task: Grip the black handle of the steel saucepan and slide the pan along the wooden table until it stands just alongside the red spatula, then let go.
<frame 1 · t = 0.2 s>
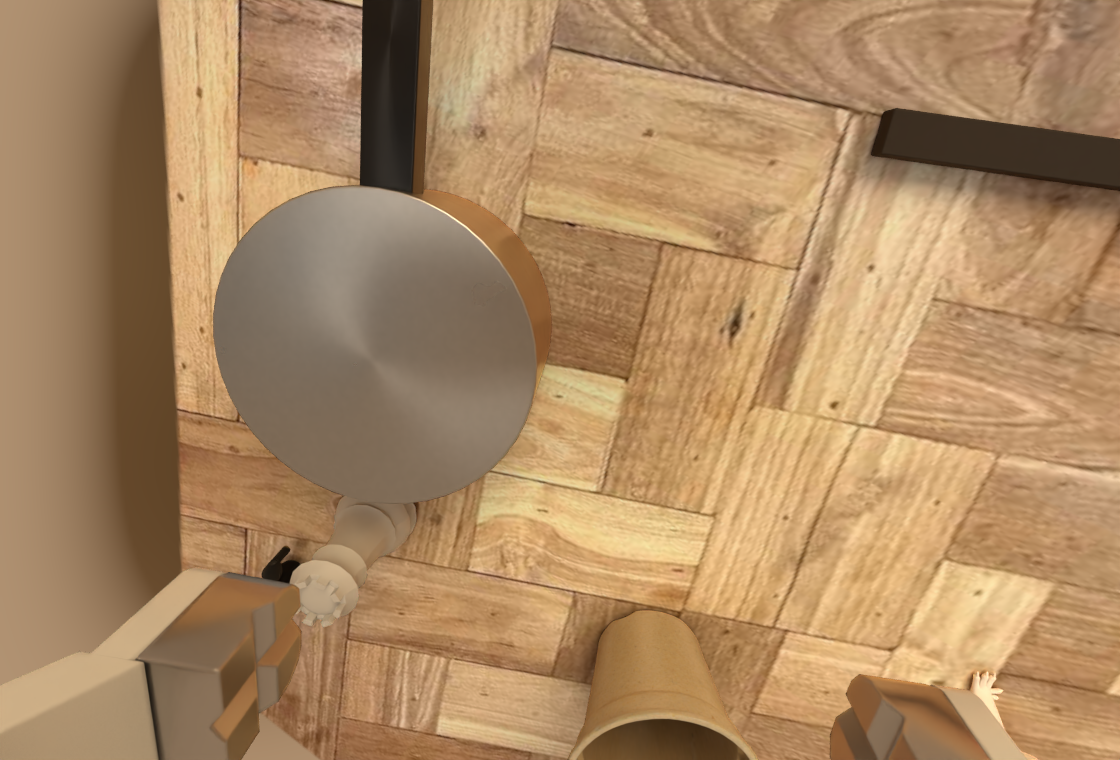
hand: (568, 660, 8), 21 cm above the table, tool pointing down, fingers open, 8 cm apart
rook chess piece: (383, 505, 32), on the table
wireless earbuds: (302, 575, 34), on the table
saucepan: (426, 322, 28), on the table
spatula: (1094, 164, 24), on the table
flower pot: (647, 644, 34), on the table
rabbit figurine: (976, 747, 35), on the table
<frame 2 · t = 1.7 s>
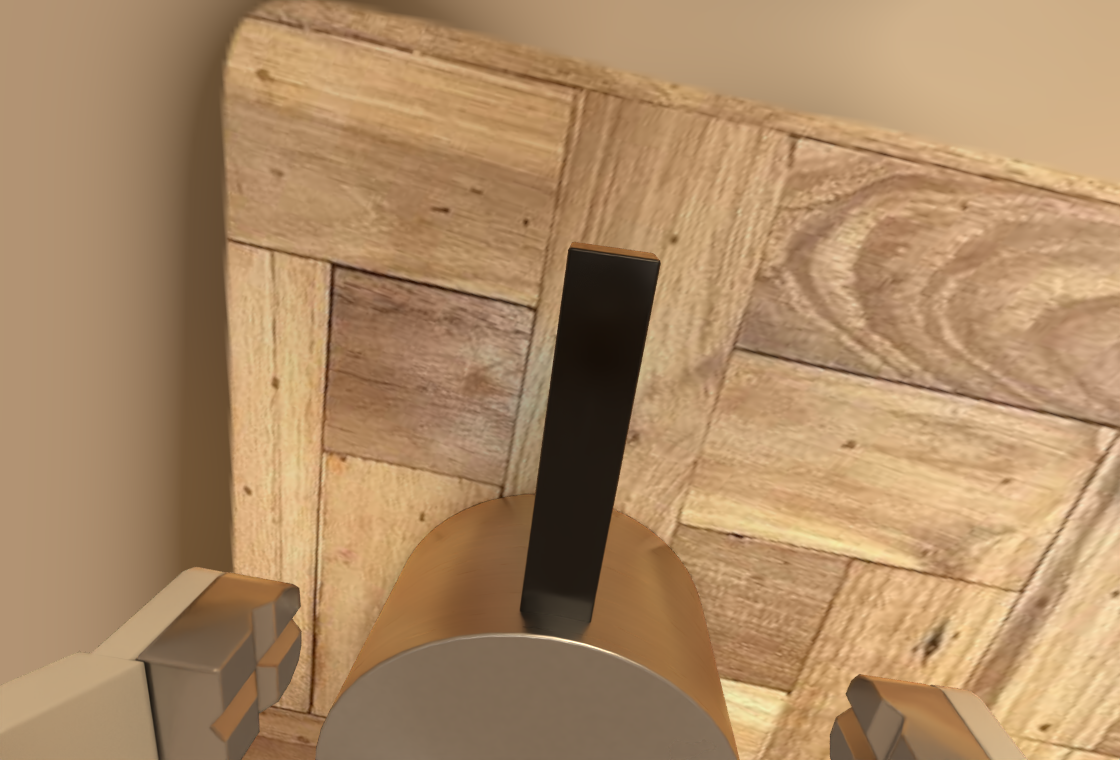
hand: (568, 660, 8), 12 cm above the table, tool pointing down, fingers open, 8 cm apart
saucepan: (546, 627, 23), on the table
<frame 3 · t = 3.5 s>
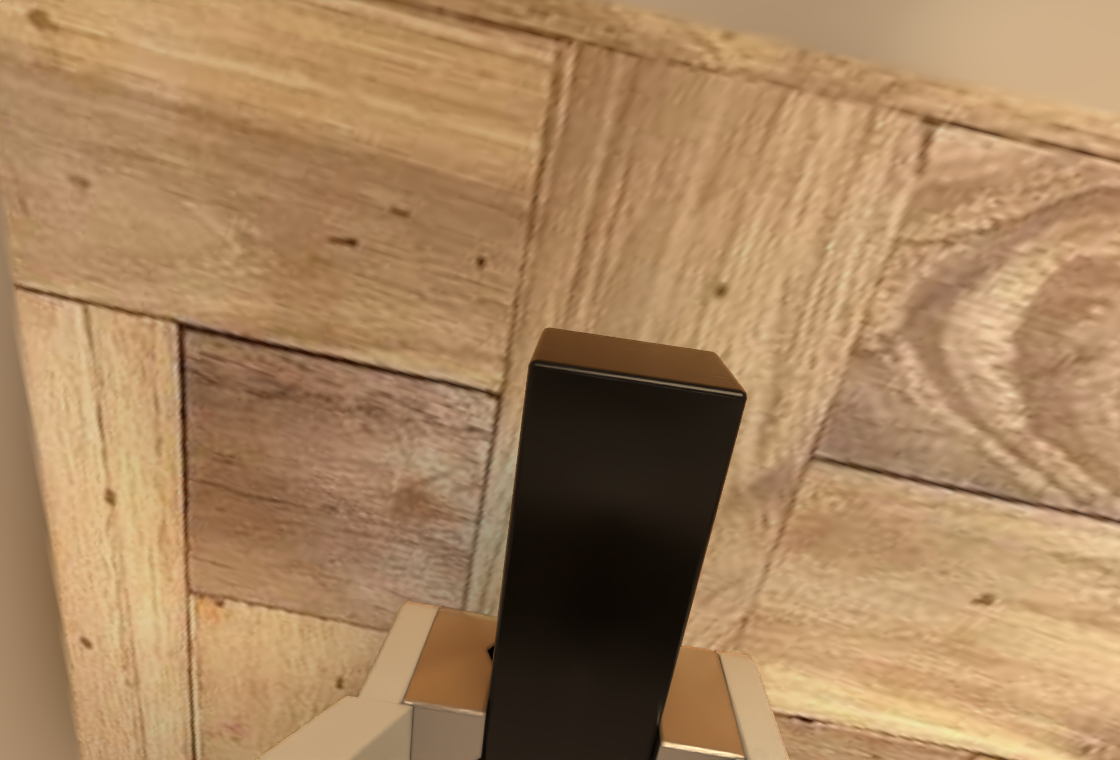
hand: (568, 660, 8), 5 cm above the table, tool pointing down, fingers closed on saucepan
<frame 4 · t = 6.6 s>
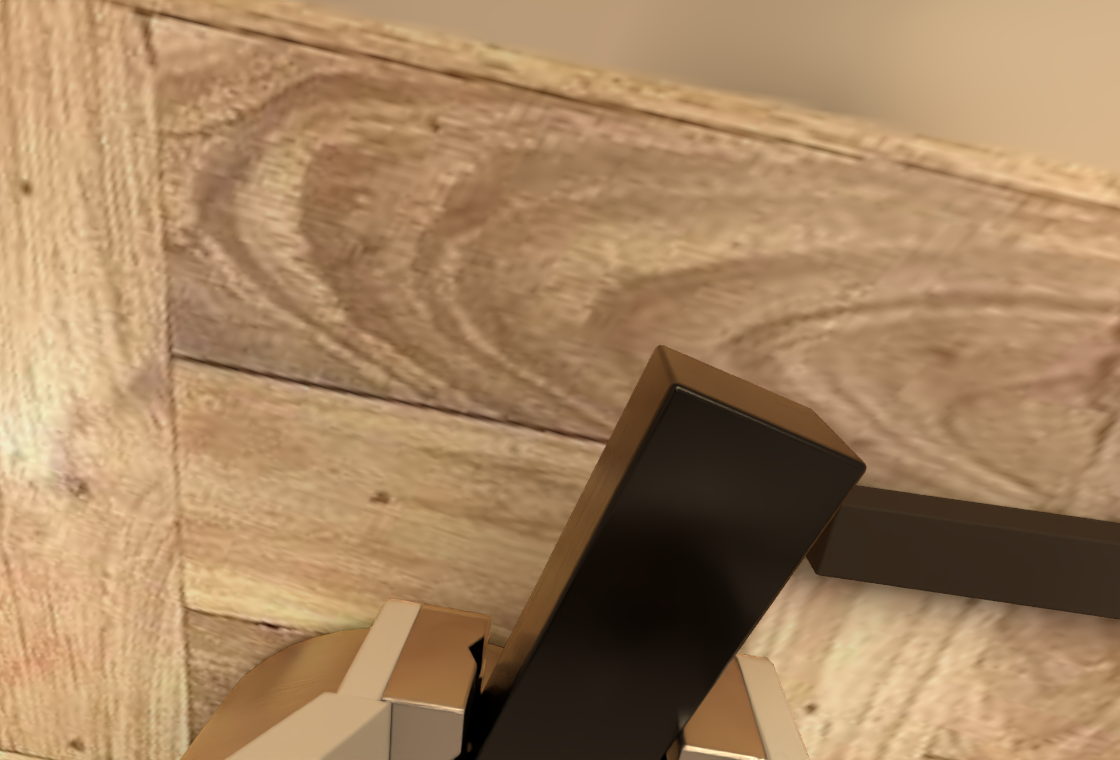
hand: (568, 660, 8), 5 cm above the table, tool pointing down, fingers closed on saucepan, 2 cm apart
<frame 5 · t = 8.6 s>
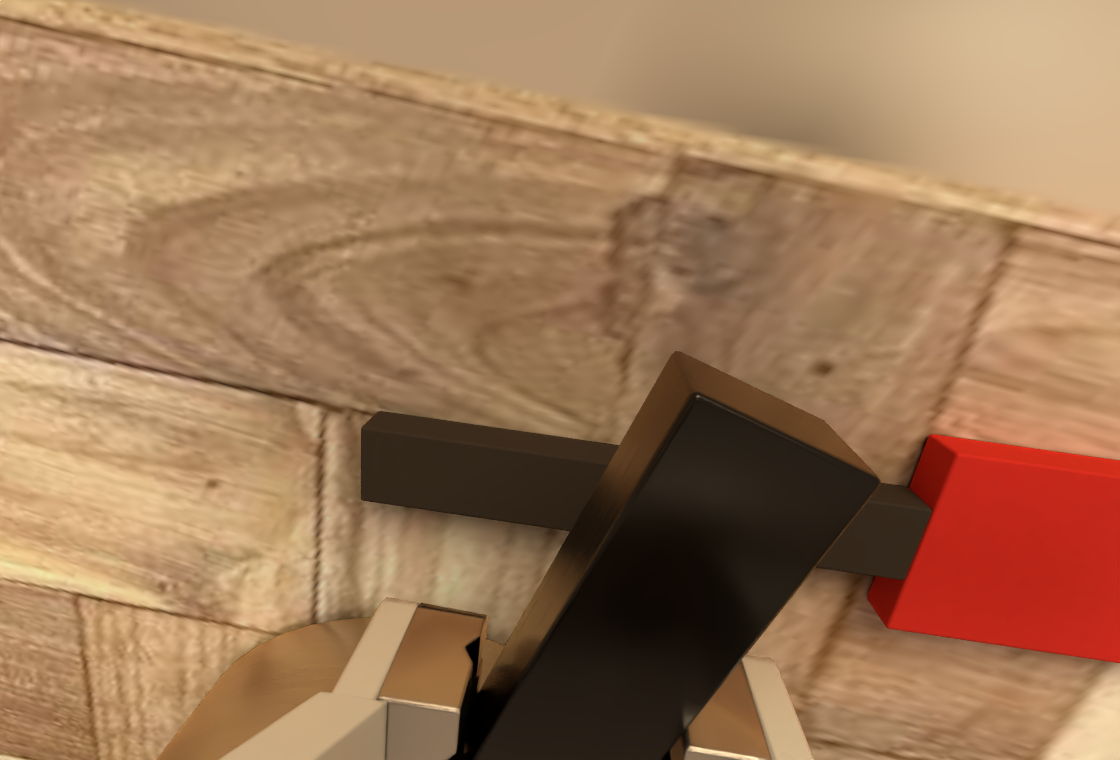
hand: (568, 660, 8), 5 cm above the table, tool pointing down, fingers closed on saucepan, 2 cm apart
spatula: (785, 504, 12), on the table
when the fingers open (5 cm above the table, at t = 9.7 s): saucepan stays where it is, on the table.
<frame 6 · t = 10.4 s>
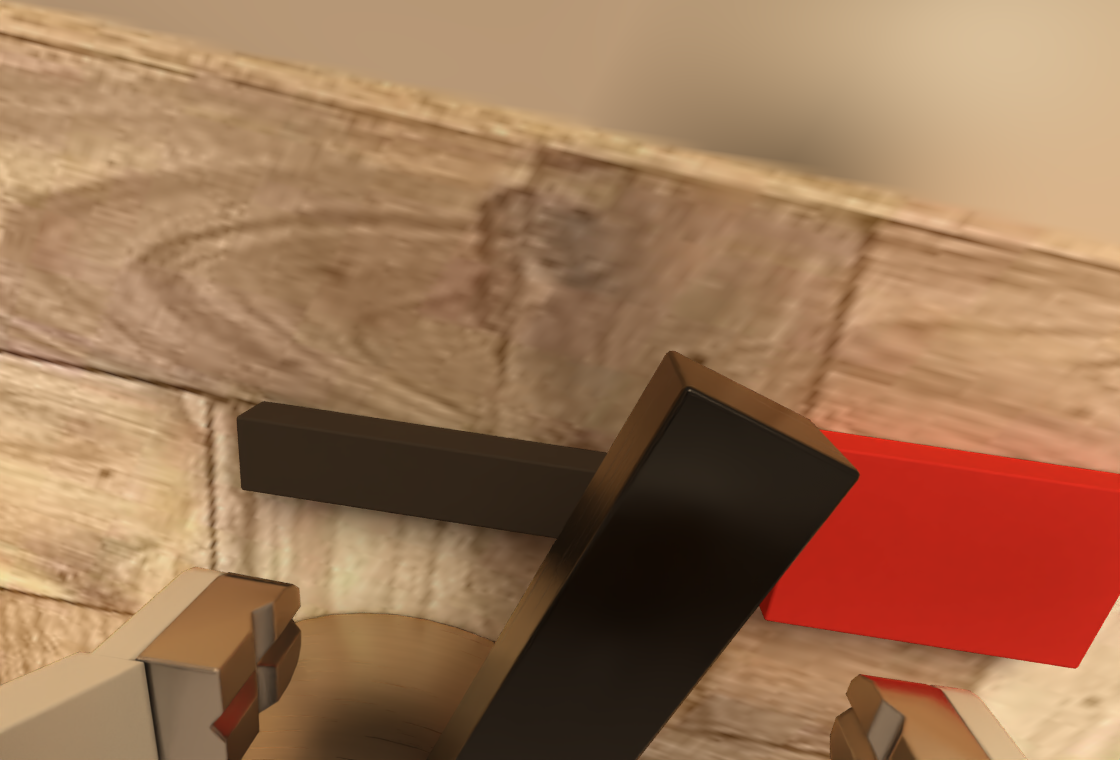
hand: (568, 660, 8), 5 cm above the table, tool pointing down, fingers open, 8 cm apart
spatula: (667, 496, 12), on the table
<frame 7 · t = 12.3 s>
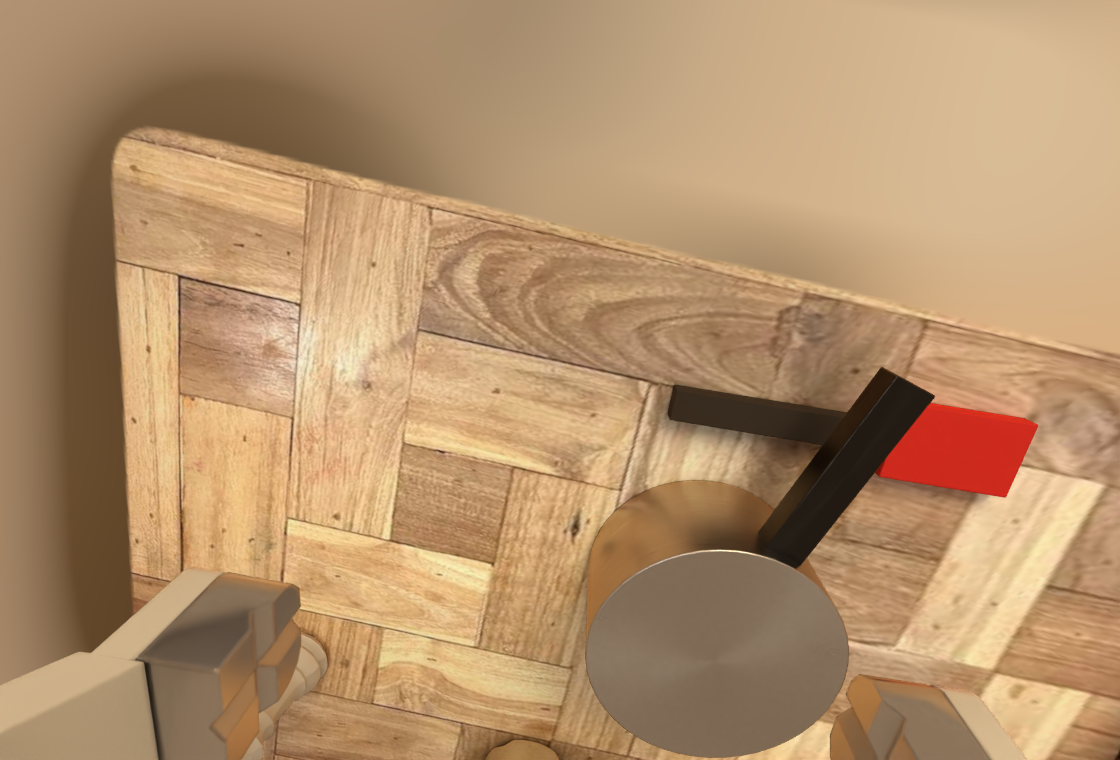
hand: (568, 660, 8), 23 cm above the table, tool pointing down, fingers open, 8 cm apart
rook chess piece: (301, 650, 38), on the table
saucepan: (692, 573, 34), on the table
spatula: (838, 426, 30), on the table
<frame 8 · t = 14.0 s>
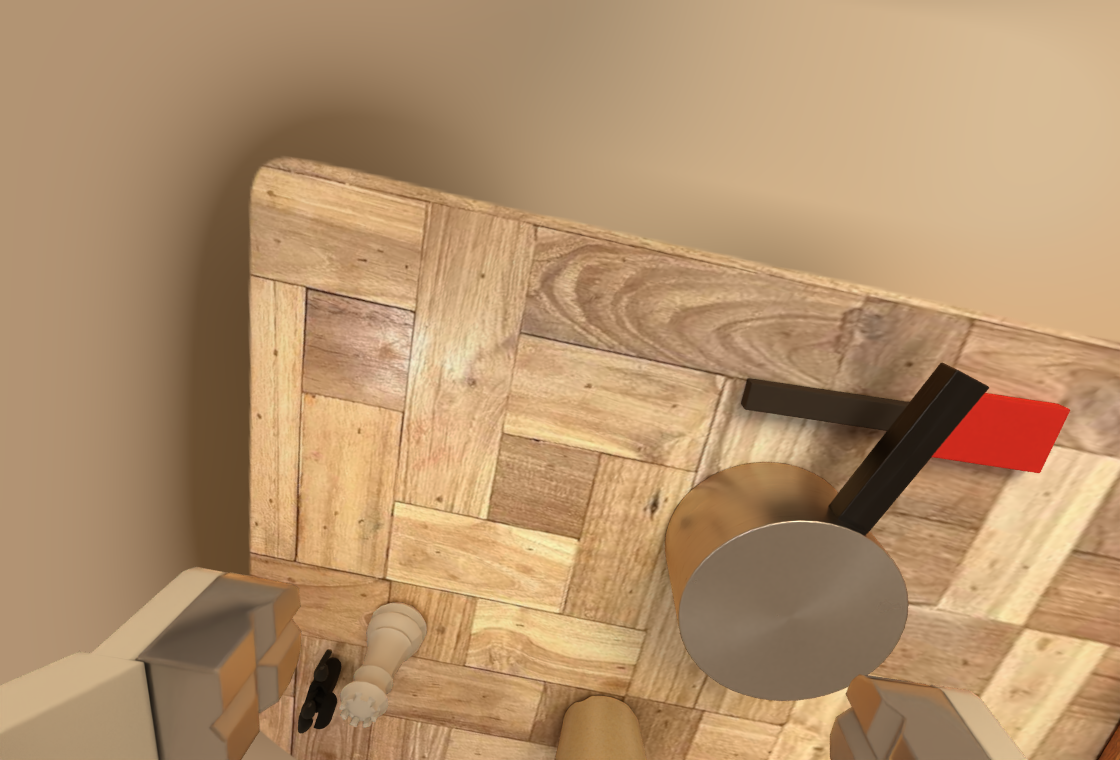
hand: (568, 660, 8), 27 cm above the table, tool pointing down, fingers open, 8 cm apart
rook chess piece: (401, 619, 43), on the table
wireless earbuds: (339, 667, 45), on the table
saucepan: (757, 544, 38), on the table
spatula: (892, 413, 34), on the table
flower pot: (600, 719, 45), on the table
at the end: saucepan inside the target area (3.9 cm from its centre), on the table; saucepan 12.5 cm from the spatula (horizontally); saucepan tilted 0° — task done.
